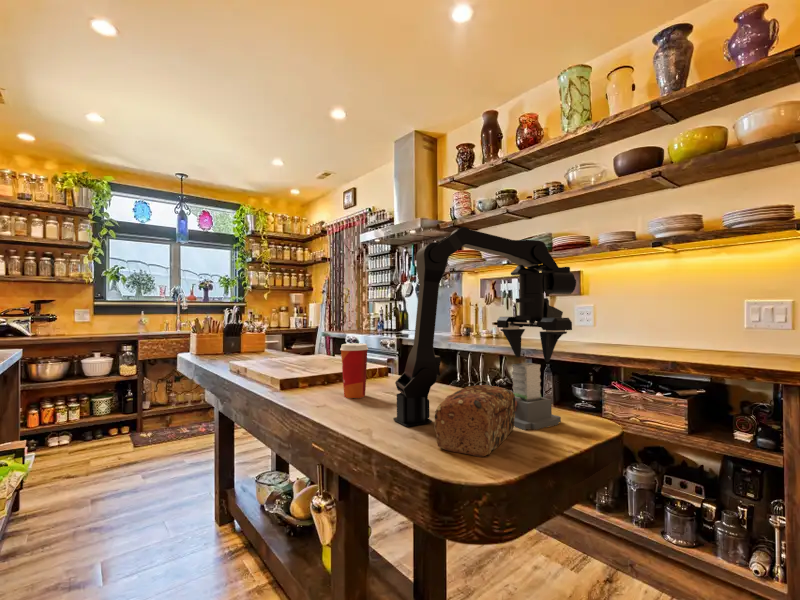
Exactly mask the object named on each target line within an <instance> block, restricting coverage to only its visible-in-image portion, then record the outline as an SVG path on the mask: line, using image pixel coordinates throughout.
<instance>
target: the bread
mask: <svg viewBox="0 0 800 600" xmlns="http://www.w3.org/2000/svg"><path fill="white" fill-rule="evenodd" d="M434 412H435V414H434V431H435V433H436V436H435V438H436V443H437V447H438V448H440V449H443V450H444V451H447V452H453V453H459V454H464V455H469V456H474V457H479V458H480V457H481V458H482V457H485V456H490V455H491V452H492V451H495V450H496V449H497V448H498V447H499V446H500V445H501V444H502V443H503V442H504V441H505V440H506V439H507V437H508V436H509V435H510V434H511V432H513V430H514V428H515V427H514V418H515V395H514V394H513V392H512V390H509V389H508V388H504V387H500V386H496V385H495V386H493V385H489V384H478V385H469V386H465V387H463V388H461V389H460V390H457V391H455V392H453V393H452V394H449V395H447V396H446V397H445V398H444V399H443V400H442V401H441V402H440V404H438V406H437V408H436V410H435V411H434Z"/></svg>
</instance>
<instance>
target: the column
mask: <svg viewBox="0 0 800 600" xmlns="http://www.w3.org/2000/svg"><path fill="white" fill-rule="evenodd" d="M511 367H512V371H511V374H512V378H511V381H512V386H511V387H512V391H513V394H514V395H515V397H519V398H521V401H524V402H532V401H538V400H540V397H542V393H541V390H542V386H541V382H542V379H541V375H542V374H541V373H542V372H541V364H540V363H539V364H538V363H533V362H520V363H512V364H511Z"/></svg>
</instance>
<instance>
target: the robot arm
mask: <svg viewBox="0 0 800 600" xmlns="http://www.w3.org/2000/svg"><path fill="white" fill-rule="evenodd" d="M461 248H465V249H470V250H474V251H477V252H483V253H487V254H490V255H496V256H500V257H503V258H506V259H507V260H508V261H509V262H511V263H513V264H515V265H516V268H514V270H512V271H511V272H510V275H511V276H518V277H519V278H518V283H519V284H518V286H519V287H518V291H519V294H518V296H519V298H515V303H516V304H517V303H519V305H518V306H519V308H518V309H519V313H518V314H517V315H516V314H515V316H499V317H498V318H497V320H496V328H500V332H502V333H503V335H504V336H505V338H506V340H507V342H508V343H509V345H510V347H511V350H512V352H513V353H514V356H515V358H520V357H521V352H522V336H523V334H524V332H525V330H526V328H529V327H530V328H531V327H532V328H541V329H542V331H539V337H540V342H541V349H542V355H543V360H544V361H545V362H547V363H548V362H550V360H551V358H552V355H553V353H554V350H555V347H556V344H557V342H558V340H559V339H560V338H561V337H562V336H563V335H566V334H567V333H568V331H573V322H572V320H571V319H570V318H569V317H563V312H564V311H562V310H561V309H559V308H556V307H555V306H552V305H550V300H549V298H547V297H545V294H546V295H564V296H565V295H572V294H573V293H574V291H575V289H576V286H577V279H576V277H575V275H574V273H573V272H571V266H562V267H559V265H558V264H557V263H556V261H555V260H554V258H553V257H552V255H551V254H550V252H549V249H548V247H547V245H546V243H545V242H544V241H542V240H536V239H535V240H534V239H510V238H506V237H502V236H499V235H493V234H489V233H487V232H483V231H479V230H473V229H470V228H468V227H466V226H461V227H458V228H455V230H453V231H452V232H451V233H450V234H448V235H447V236H445V237H444V238H443V239H441V240H439V241H436V242H435V241H434V242H430V243H429V244H425V245H424V246H422V247H421V248H420V249H418V251H417V252H416V255H415V265H416V266H415V267H416V273H417V278H418V283H419V286H418V295H417V296H418V297H417V307H416V319H415V328H414V338H413V345H412V348H411V350H410V352H409V354H408V357H407V360H406V363H405V368H404V372H403V373H402V374H401V375H400V376H399V377H398V378H397V380H396V381H395V382H394V384H395V386H396V388H397V391H398V392H399V393H396V417H395V416H394V417H393V418H392V419H393V421H395V422H396V423H399V424H400V425H403V426H404V427H406V428H408V427H416V426H419V425H420V426H421V425H427V424H430V423H433V420H432V419H430V416H431V415H430V399H429V398H428V396H429V393H430V391H431V387H432V386H433V385H435V384H436V383H437V380H438V377H439V376H441V371H440V367H441V363H442V356H440V355H436V354H435V349H434V342H435V332H436V331H435V330H436V322H437V320H436V319H437V310H438V309H437V308H438V300H439V299H438V298H439V288H440V284H441V281H442V279H443V276H444V274H445V272H446V269H447V265H448V260H449V258H450V256H452V255H453V254H454V253H456V252H457V251H458V250H459V249H461ZM528 321H529V322H528ZM523 327H526V328H523Z"/></svg>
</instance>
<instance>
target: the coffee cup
mask: <svg viewBox="0 0 800 600" xmlns="http://www.w3.org/2000/svg"><path fill="white" fill-rule="evenodd" d="M339 350H340V355H341V369H342V385H343V395H344V397H343V398H345V397H346V398H345V399H349V398H358V399H362V397H363V398H365V397H366V389H367V368H368V367H367V363H368V350H369V347H368V344H367V343H359V342H358V343H356V342H355V343H352V342H351V343H343V344H341V347H340V349H339ZM364 396H365V397H364Z"/></svg>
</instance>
